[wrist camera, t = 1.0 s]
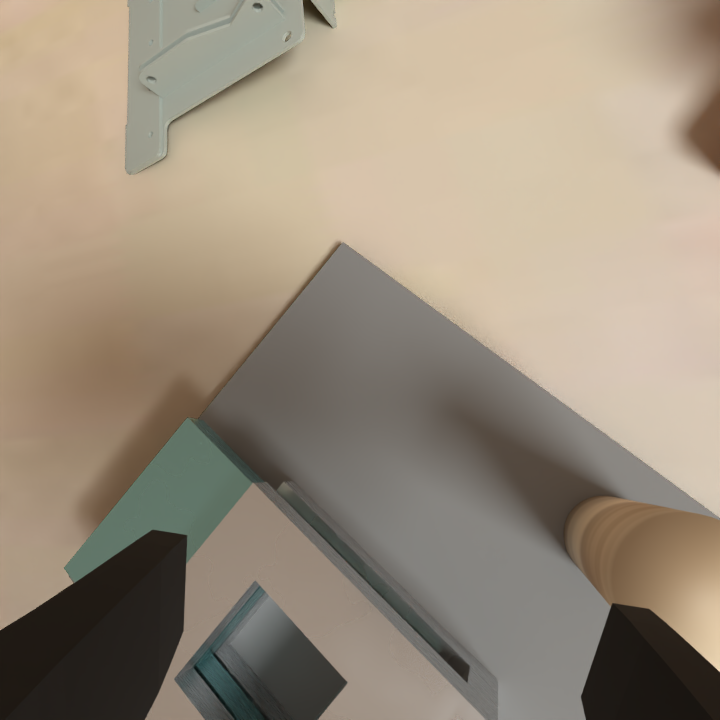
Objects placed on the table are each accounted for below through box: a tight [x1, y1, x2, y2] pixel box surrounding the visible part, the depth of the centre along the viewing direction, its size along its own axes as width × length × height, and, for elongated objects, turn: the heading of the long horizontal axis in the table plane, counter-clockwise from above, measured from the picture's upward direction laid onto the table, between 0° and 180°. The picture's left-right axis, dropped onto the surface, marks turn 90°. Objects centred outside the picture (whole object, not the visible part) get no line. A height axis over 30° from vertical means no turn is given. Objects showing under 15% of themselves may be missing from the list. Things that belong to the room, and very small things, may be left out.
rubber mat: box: [69, 243, 720, 720], centre depth 21 cm, size 22×20×1 cm
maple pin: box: [564, 496, 720, 672], centre depth 15 cm, size 3×3×9 cm
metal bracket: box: [125, 0, 337, 175], centre depth 29 cm, size 14×6×15 cm
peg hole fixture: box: [64, 417, 498, 720], centre depth 20 cm, size 15×9×4 cm, turn 49°
